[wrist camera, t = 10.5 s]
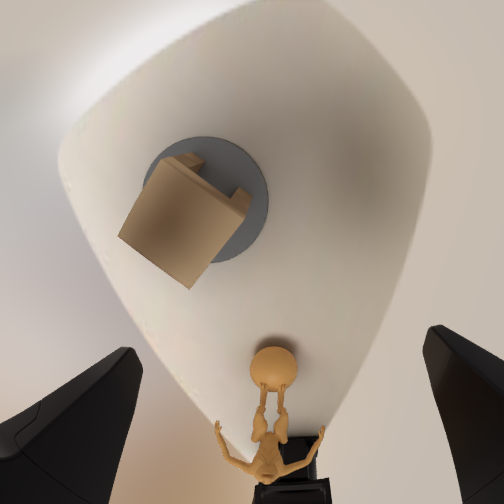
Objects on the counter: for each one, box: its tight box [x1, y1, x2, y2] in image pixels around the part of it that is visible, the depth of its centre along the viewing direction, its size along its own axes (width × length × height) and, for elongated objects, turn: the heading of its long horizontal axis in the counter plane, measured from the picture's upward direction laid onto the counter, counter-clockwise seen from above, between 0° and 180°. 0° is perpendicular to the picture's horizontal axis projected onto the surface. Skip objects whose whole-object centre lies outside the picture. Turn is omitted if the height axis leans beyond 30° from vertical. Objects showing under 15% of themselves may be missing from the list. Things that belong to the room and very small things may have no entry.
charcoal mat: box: [142, 137, 268, 263], centre depth 19 cm, size 9×9×1 cm
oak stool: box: [118, 152, 253, 290], centre depth 16 cm, size 5×5×6 cm
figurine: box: [215, 346, 325, 484], centre depth 19 cm, size 8×6×12 cm
